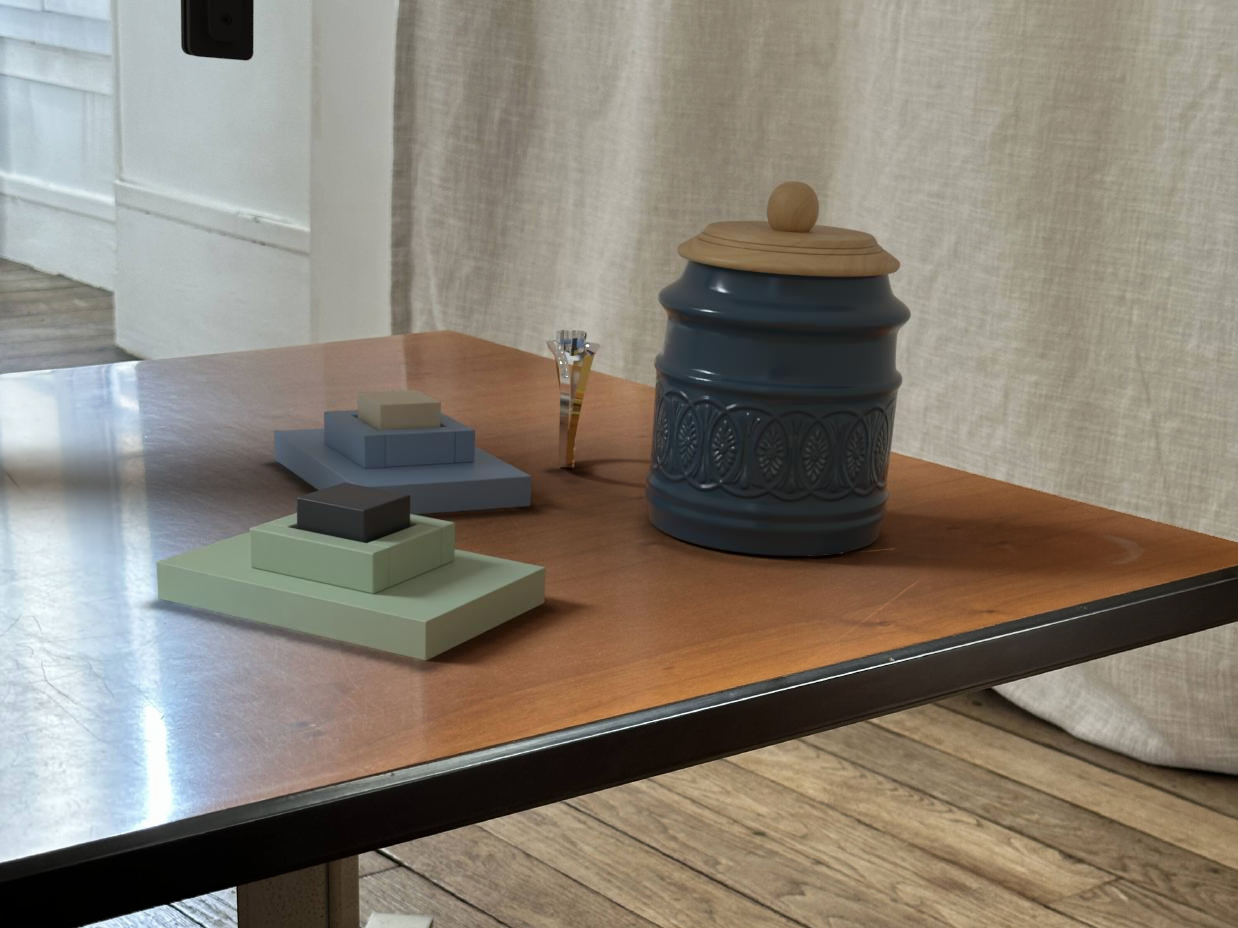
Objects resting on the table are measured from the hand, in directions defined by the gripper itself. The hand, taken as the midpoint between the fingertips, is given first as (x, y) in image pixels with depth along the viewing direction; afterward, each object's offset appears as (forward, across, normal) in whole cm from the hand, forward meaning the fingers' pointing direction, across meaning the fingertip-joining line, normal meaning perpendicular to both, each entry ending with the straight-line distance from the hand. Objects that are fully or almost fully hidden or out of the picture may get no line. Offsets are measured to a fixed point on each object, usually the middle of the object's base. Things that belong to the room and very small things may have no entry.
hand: (217, 56), depth 88 cm
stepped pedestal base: (+21, +22, 0) cm, 31 cm away
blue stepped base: (+21, +2, +10) cm, 24 cm away
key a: (+18, +22, -1) cm, 29 cm away
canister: (+21, +17, +25) cm, 37 cm away
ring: (+21, +1, +21) cm, 30 cm away
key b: (+18, +2, +10) cm, 21 cm away
